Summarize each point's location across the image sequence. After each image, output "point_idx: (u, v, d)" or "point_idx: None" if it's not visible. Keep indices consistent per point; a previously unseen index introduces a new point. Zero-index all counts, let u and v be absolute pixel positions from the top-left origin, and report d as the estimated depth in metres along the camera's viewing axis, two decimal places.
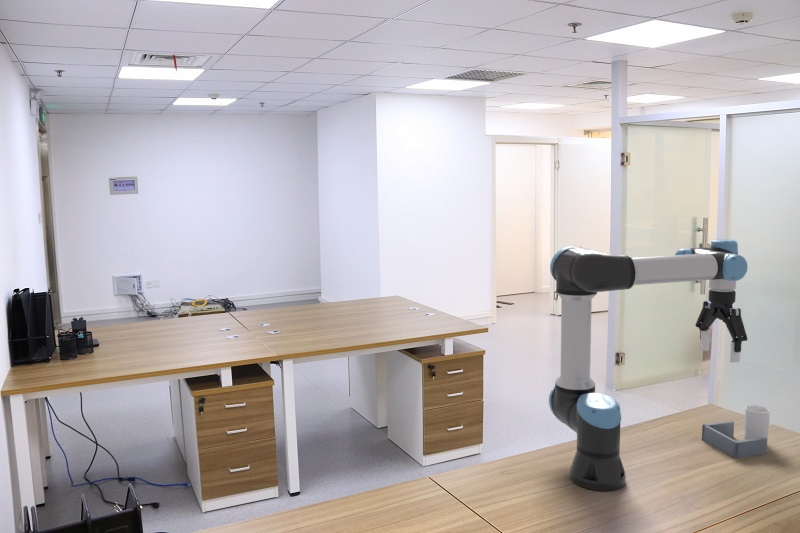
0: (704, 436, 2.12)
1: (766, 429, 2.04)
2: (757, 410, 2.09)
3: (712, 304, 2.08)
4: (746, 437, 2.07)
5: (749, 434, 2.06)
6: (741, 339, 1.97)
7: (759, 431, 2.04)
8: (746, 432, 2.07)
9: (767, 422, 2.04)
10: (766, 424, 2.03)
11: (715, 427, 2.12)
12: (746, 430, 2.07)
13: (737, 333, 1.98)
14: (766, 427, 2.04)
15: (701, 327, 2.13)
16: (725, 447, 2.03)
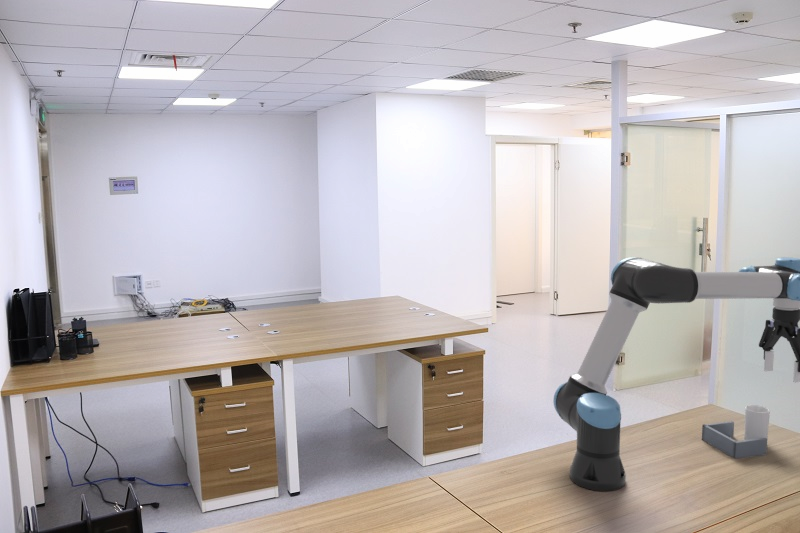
0: (704, 436, 2.12)
1: (766, 429, 2.04)
2: (757, 410, 2.09)
3: (775, 322, 2.08)
4: (746, 437, 2.07)
5: (749, 434, 2.06)
6: None
7: (759, 431, 2.04)
8: (746, 432, 2.07)
9: (767, 422, 2.04)
10: (766, 424, 2.03)
11: (715, 427, 2.12)
12: (746, 430, 2.07)
13: None
14: (766, 427, 2.04)
15: (765, 347, 2.12)
16: (725, 447, 2.03)
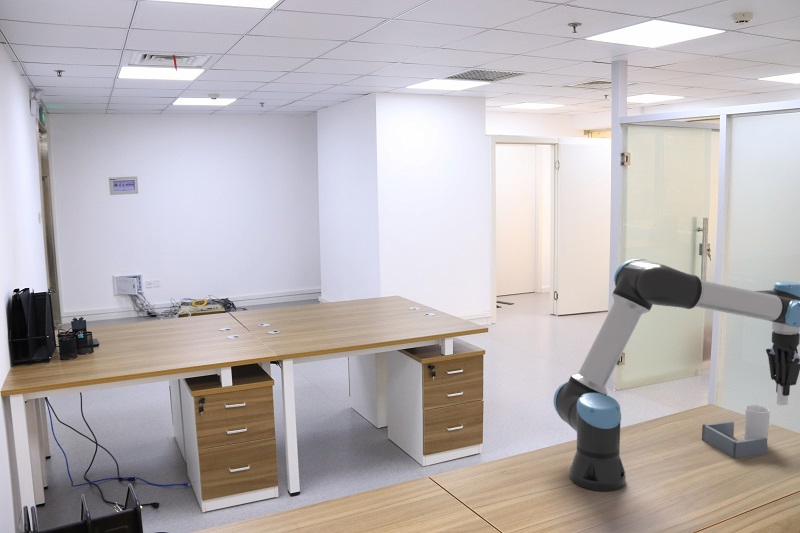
0: (704, 436, 2.12)
1: (766, 429, 2.04)
2: (757, 410, 2.09)
3: (774, 345, 2.09)
4: (746, 437, 2.07)
5: (749, 434, 2.06)
6: (790, 385, 2.04)
7: (759, 431, 2.04)
8: (746, 432, 2.07)
9: (767, 422, 2.04)
10: (766, 424, 2.03)
11: (715, 427, 2.12)
12: (746, 430, 2.07)
13: (789, 378, 2.04)
14: (766, 427, 2.04)
15: (777, 379, 2.09)
16: (725, 447, 2.03)
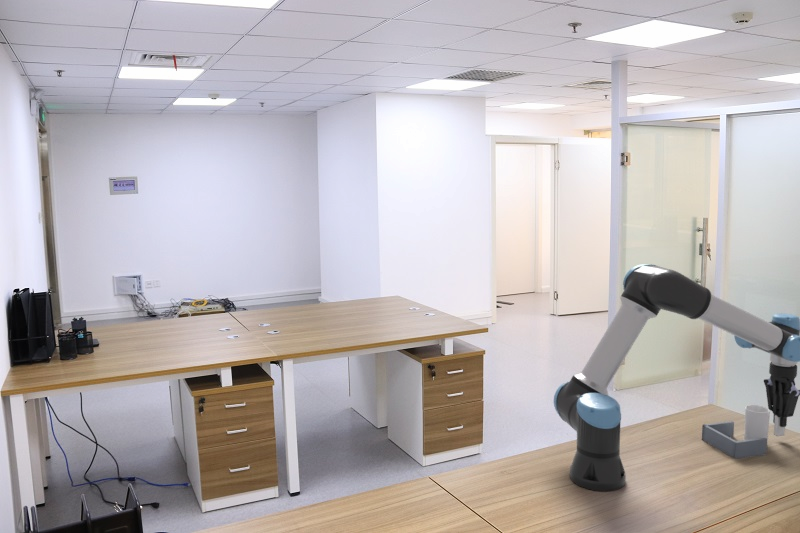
0: (704, 436, 2.12)
1: (766, 429, 2.04)
2: (757, 410, 2.09)
3: (771, 376, 2.11)
4: (746, 437, 2.07)
5: (749, 434, 2.06)
6: (787, 416, 2.06)
7: (759, 431, 2.04)
8: (746, 432, 2.07)
9: (767, 422, 2.04)
10: (766, 424, 2.03)
11: (715, 427, 2.12)
12: (746, 430, 2.07)
13: (786, 410, 2.05)
14: (766, 427, 2.04)
15: (774, 410, 2.10)
16: (725, 447, 2.03)
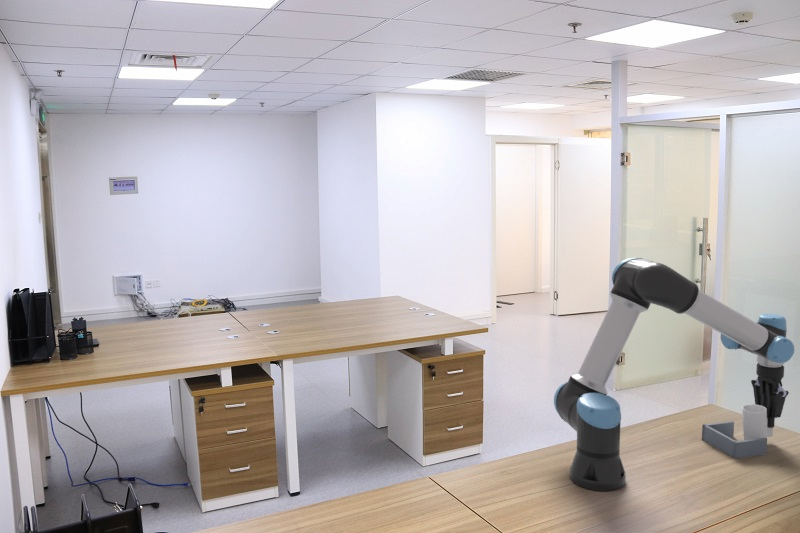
0: (704, 436, 2.12)
1: (764, 428, 2.04)
2: (754, 409, 2.09)
3: (759, 377, 2.10)
4: (745, 437, 2.07)
5: (748, 434, 2.05)
6: (774, 417, 2.05)
7: (757, 431, 2.03)
8: (745, 432, 2.07)
9: (765, 421, 2.03)
10: (764, 423, 2.03)
11: (715, 427, 2.12)
12: (745, 430, 2.07)
13: (773, 411, 2.04)
14: (764, 426, 2.04)
15: None
16: (725, 447, 2.03)
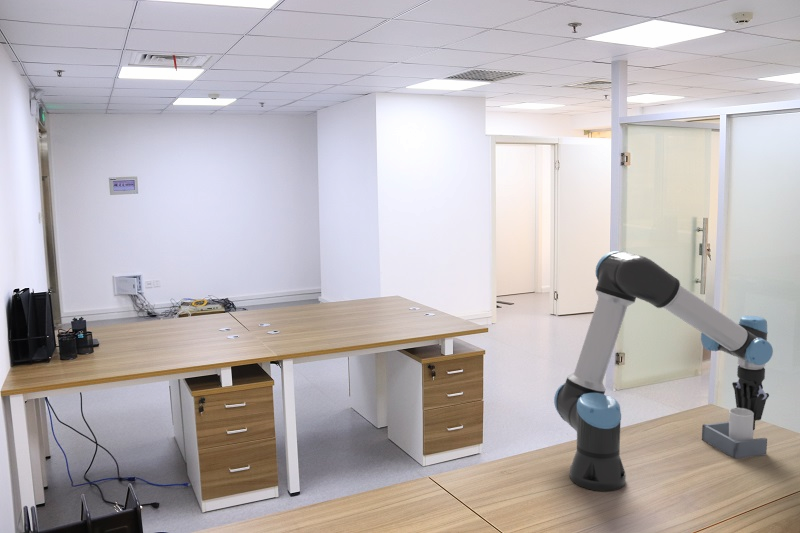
0: (704, 436, 2.12)
1: (752, 431, 2.03)
2: (735, 412, 2.07)
3: (740, 379, 2.08)
4: None
5: (739, 439, 2.02)
6: (755, 420, 2.03)
7: (748, 434, 2.01)
8: (734, 437, 2.03)
9: None
10: (752, 426, 2.02)
11: (715, 427, 2.12)
12: (734, 435, 2.03)
13: (754, 413, 2.03)
14: (752, 429, 2.02)
15: None
16: (725, 447, 2.03)
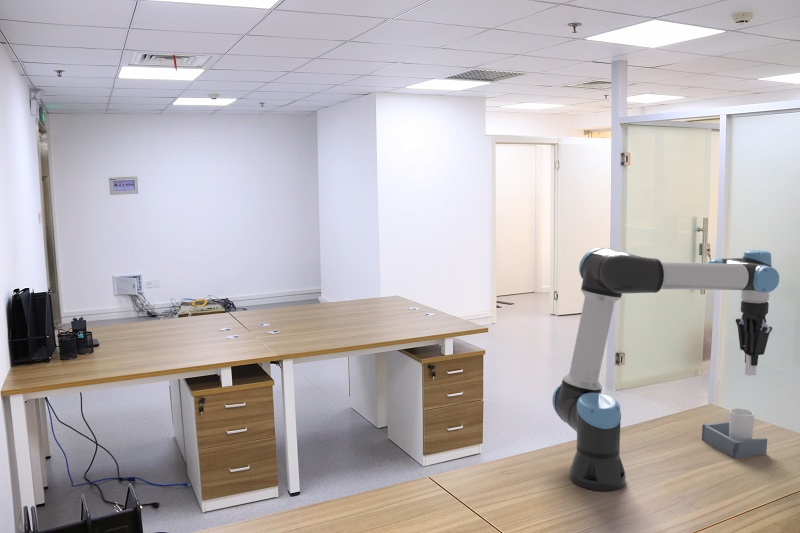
0: (704, 436, 2.12)
1: (752, 431, 2.03)
2: (736, 413, 2.07)
3: (743, 314, 2.07)
4: None
5: (739, 439, 2.02)
6: (757, 354, 2.02)
7: (749, 434, 2.01)
8: (735, 437, 2.03)
9: None
10: None
11: (715, 427, 2.12)
12: (735, 435, 2.03)
13: (757, 348, 2.02)
14: (752, 429, 2.03)
15: (745, 349, 2.07)
16: (725, 447, 2.03)
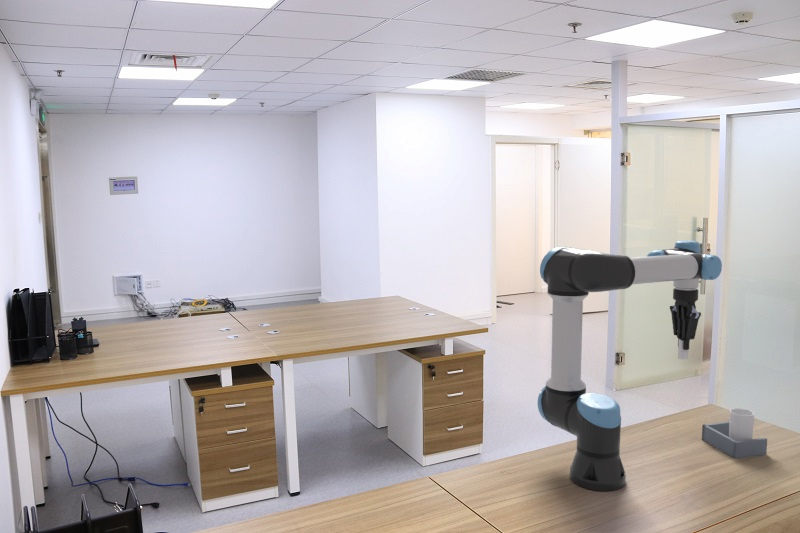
0: (704, 436, 2.12)
1: (752, 431, 2.03)
2: (736, 413, 2.07)
3: (676, 301, 2.19)
4: None
5: (739, 439, 2.02)
6: (688, 339, 2.14)
7: (749, 434, 2.01)
8: (735, 437, 2.03)
9: None
10: None
11: (715, 427, 2.12)
12: (735, 435, 2.03)
13: (687, 333, 2.13)
14: (752, 429, 2.03)
15: (678, 334, 2.18)
16: (725, 447, 2.03)
